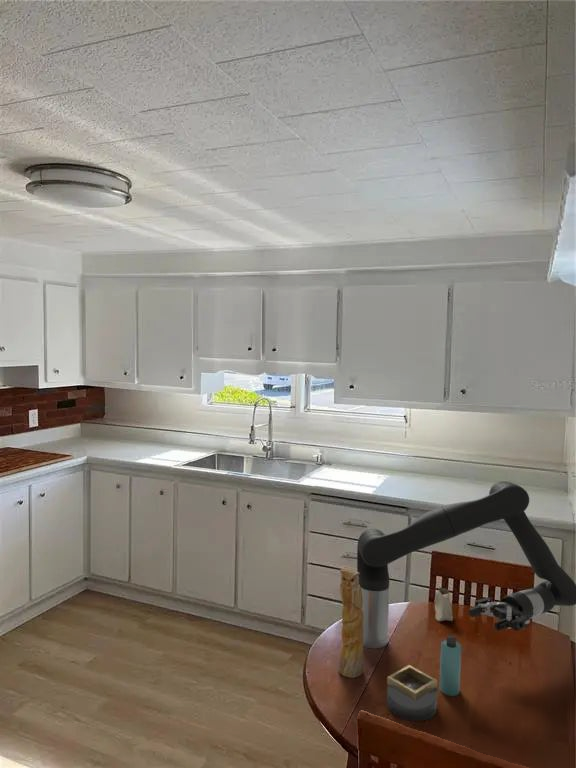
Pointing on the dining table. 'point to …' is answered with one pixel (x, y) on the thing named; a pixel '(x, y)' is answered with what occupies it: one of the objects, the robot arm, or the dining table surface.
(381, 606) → the robot arm
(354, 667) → the sculpture
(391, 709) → the disc with square collar
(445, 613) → the grey sack
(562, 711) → the dining table surface
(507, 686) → the dining table surface
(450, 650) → the bottle
